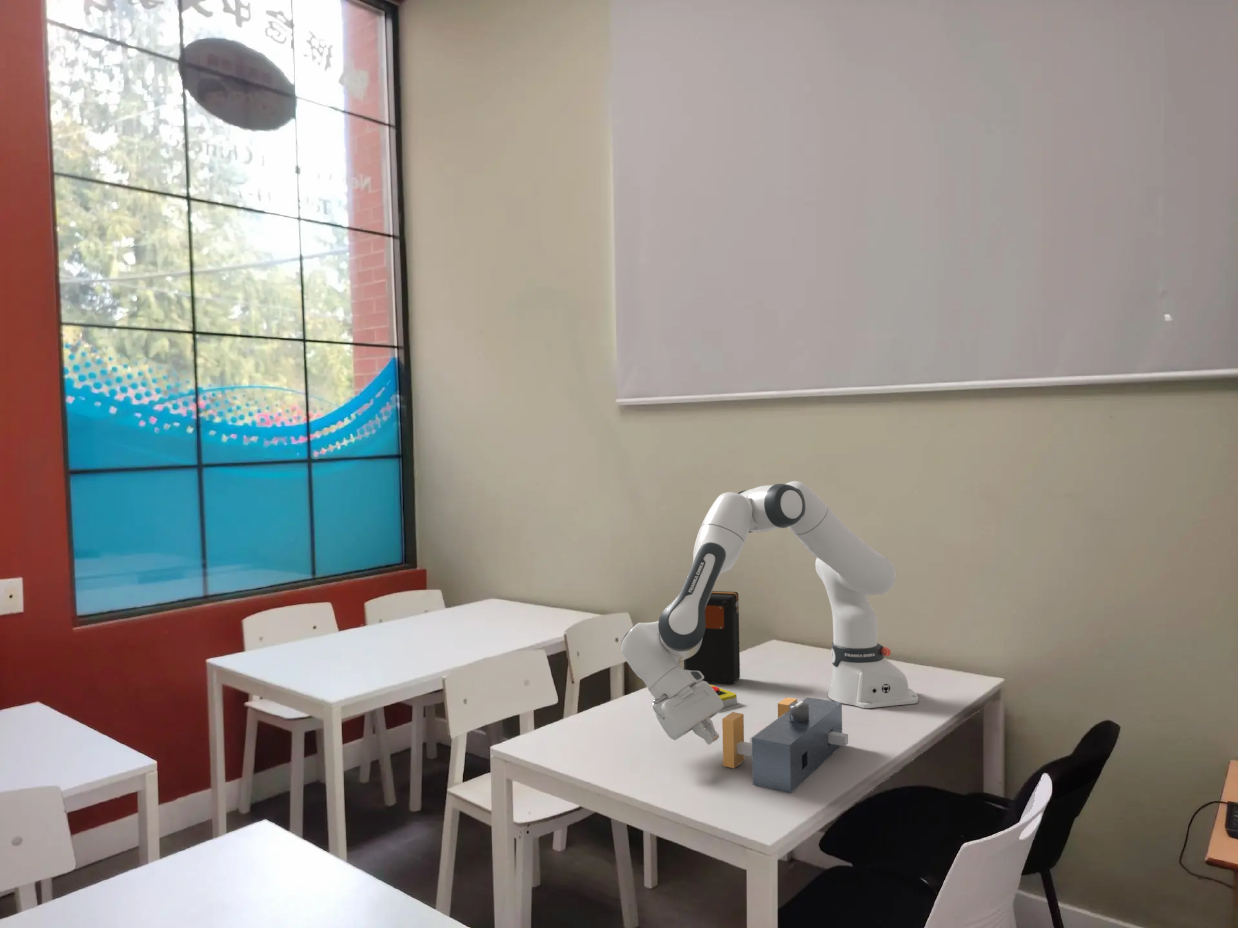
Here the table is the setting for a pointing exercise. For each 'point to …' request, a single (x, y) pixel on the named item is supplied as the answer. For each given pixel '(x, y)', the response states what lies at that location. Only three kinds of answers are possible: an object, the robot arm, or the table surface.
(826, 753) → the mount
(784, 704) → the knob
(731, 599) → the black box
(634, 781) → the table surface
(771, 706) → the table surface
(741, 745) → the knob
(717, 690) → the emergency button
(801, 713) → the dial
